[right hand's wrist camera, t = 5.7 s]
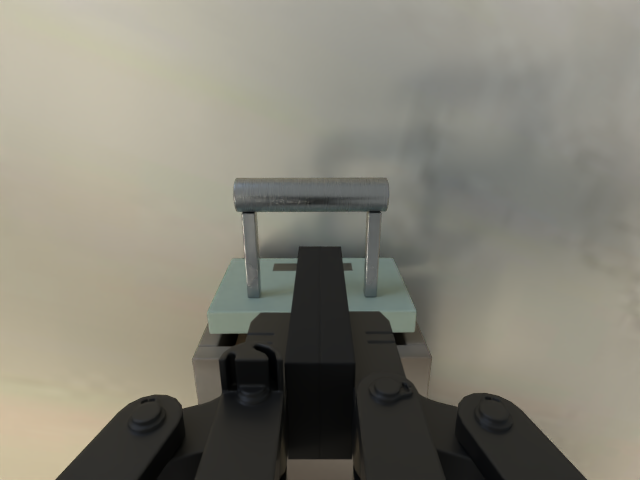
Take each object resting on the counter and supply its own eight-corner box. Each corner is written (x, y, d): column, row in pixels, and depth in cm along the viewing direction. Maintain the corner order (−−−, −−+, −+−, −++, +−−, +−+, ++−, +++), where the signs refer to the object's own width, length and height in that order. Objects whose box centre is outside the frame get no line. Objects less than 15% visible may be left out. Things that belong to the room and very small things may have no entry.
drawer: (223, 160, 22) (191, 187, 16) (400, 159, 22) (429, 186, 16) (246, 430, 29) (229, 514, 23) (381, 428, 29) (397, 513, 23)
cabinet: (227, 277, 26) (191, 358, 18) (398, 276, 26) (432, 357, 18) (243, 450, 31) (220, 569, 23) (385, 449, 31) (407, 566, 23)
